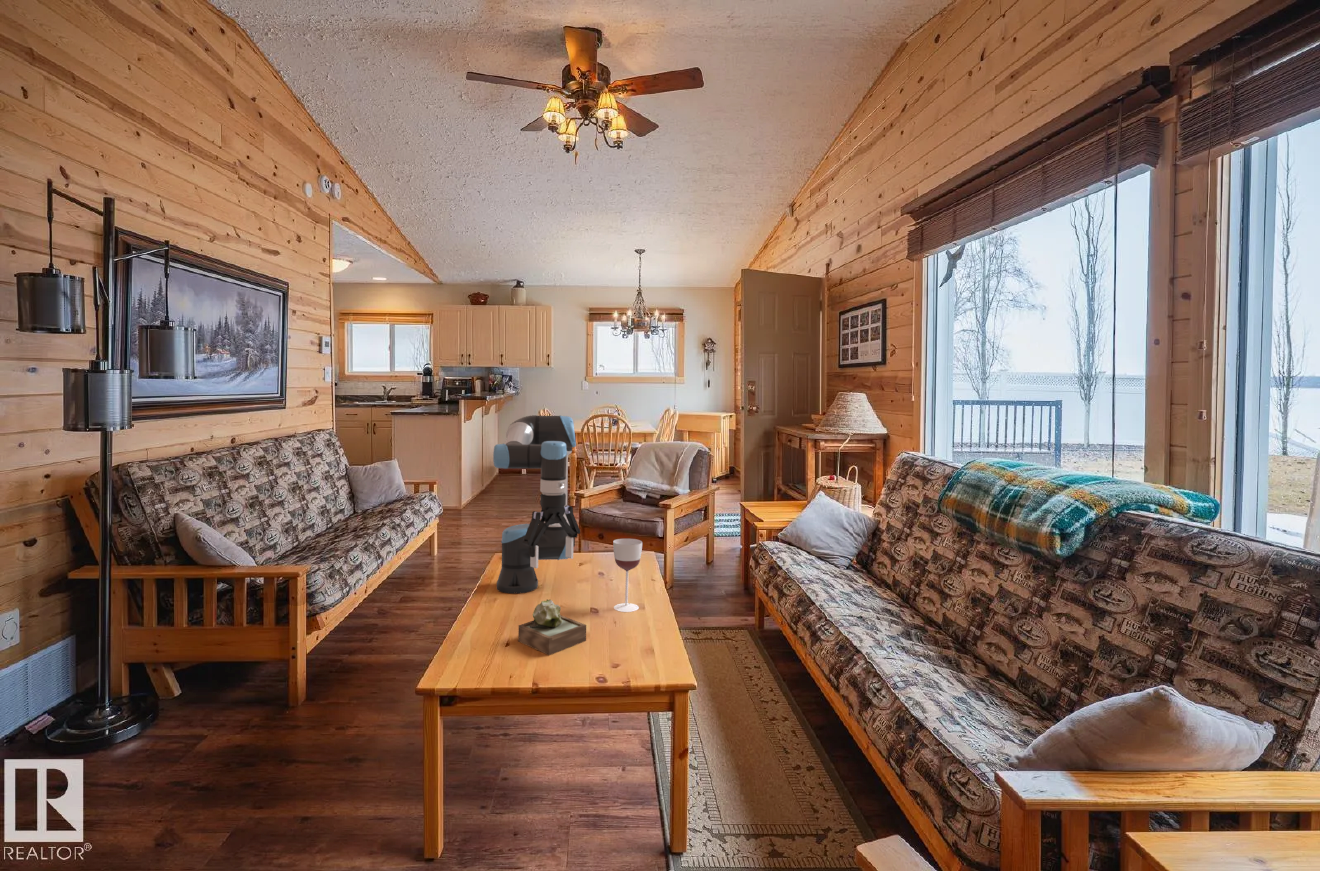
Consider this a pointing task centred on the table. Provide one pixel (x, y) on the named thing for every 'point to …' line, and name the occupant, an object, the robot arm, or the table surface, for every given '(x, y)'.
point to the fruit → (547, 614)
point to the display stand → (552, 635)
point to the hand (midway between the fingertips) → (552, 562)
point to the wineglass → (627, 565)
